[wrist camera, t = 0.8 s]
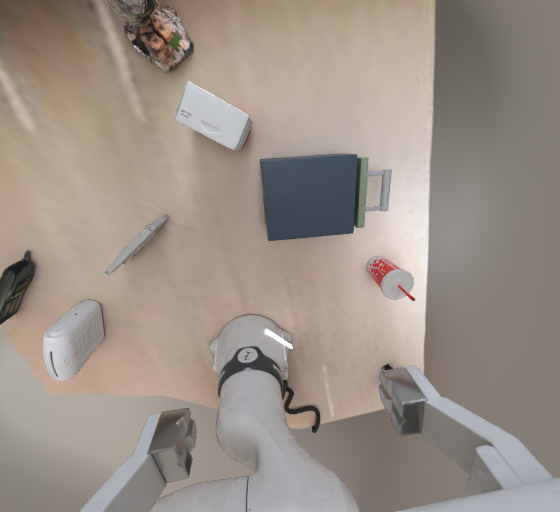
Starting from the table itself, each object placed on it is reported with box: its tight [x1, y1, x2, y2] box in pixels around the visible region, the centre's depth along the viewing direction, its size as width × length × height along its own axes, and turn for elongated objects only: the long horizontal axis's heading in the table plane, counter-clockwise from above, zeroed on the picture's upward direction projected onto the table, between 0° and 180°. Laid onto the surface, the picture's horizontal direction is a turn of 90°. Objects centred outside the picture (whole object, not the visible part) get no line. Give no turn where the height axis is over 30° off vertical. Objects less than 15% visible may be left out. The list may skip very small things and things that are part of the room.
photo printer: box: [43, 300, 104, 381], centre depth 49 cm, size 10×4×12 cm, turn 172°
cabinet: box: [260, 154, 357, 241], centre depth 45 cm, size 15×13×8 cm
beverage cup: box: [366, 256, 415, 301], centre depth 50 cm, size 6×6×14 cm
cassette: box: [105, 215, 168, 275], centre depth 46 cm, size 12×2×8 cm, turn 132°
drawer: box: [354, 157, 392, 228], centre depth 46 cm, size 18×11×6 cm, turn 94°
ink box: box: [174, 82, 252, 151], centre depth 38 cm, size 9×5×12 cm, turn 64°
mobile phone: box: [0, 251, 33, 324], centre depth 48 cm, size 5×3×15 cm
